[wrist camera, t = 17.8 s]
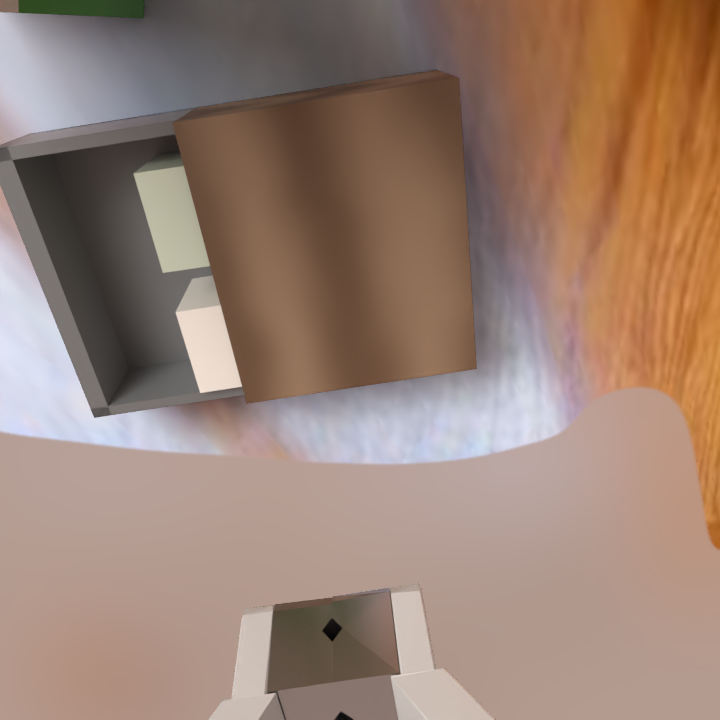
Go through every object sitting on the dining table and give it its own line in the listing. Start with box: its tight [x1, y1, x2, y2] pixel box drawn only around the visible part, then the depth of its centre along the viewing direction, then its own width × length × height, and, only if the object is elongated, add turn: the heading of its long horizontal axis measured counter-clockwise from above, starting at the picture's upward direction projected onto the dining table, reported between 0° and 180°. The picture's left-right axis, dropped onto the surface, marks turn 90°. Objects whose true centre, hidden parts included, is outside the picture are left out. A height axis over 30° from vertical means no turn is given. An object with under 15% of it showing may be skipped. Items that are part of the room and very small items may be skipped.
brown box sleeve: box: [172, 70, 477, 403], centre depth 35 cm, size 13×15×6 cm
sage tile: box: [133, 151, 210, 273], centre depth 33 cm, size 5×5×2 cm
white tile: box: [176, 276, 242, 393], centre depth 37 cm, size 5×5×2 cm
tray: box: [0, 108, 244, 418], centre depth 35 cm, size 9×15×5 cm, turn 8°
